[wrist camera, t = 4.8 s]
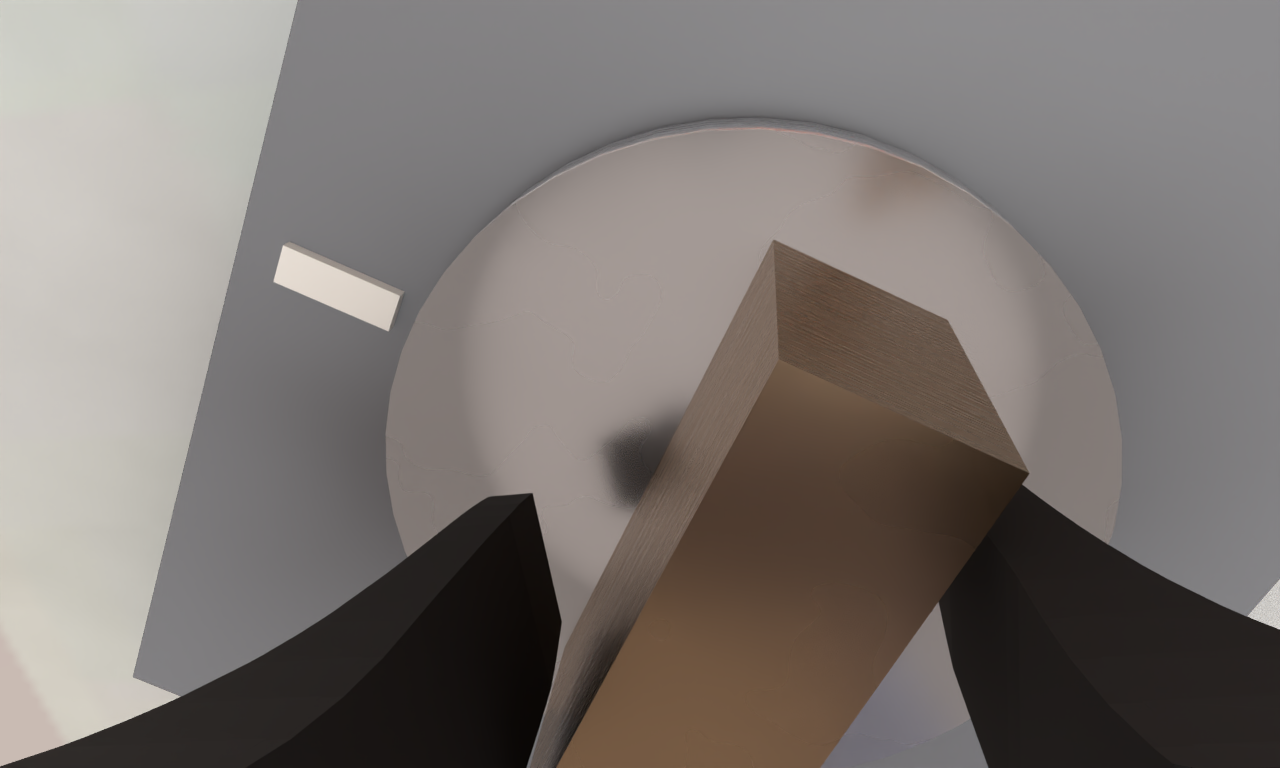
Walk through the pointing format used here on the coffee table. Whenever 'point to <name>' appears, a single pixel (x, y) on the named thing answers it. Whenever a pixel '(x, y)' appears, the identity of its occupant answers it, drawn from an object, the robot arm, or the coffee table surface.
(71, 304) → the coffee table surface
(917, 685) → the dial
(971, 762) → the dial base
